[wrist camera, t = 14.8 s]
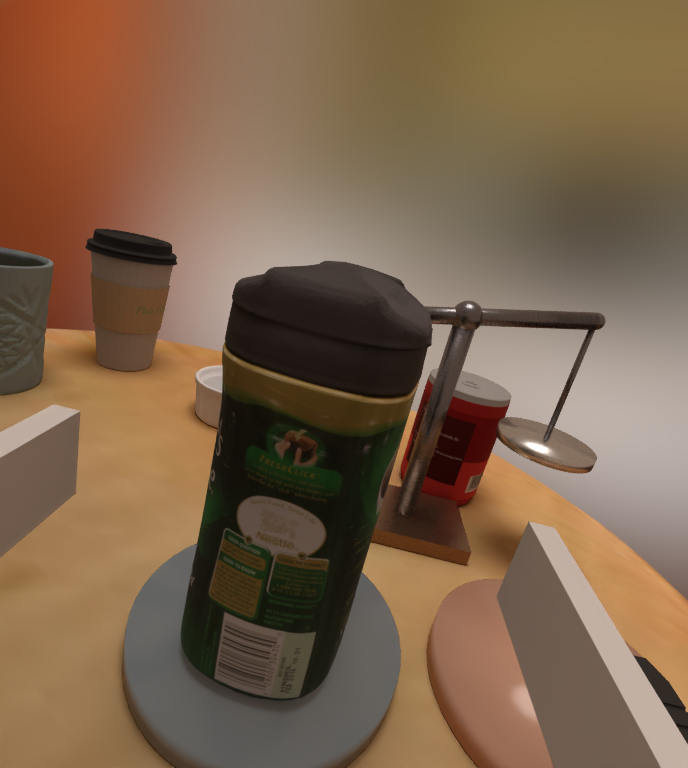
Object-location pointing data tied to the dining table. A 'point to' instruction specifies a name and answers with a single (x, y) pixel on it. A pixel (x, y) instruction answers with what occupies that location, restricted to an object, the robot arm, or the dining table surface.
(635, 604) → the dining table surface
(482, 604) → the terracotta dish
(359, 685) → the slate dish
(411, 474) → the balance
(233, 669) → the coffee jar
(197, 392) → the ramekin
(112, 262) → the coffee cup
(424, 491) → the canned food
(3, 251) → the grey-green ceramic planter
